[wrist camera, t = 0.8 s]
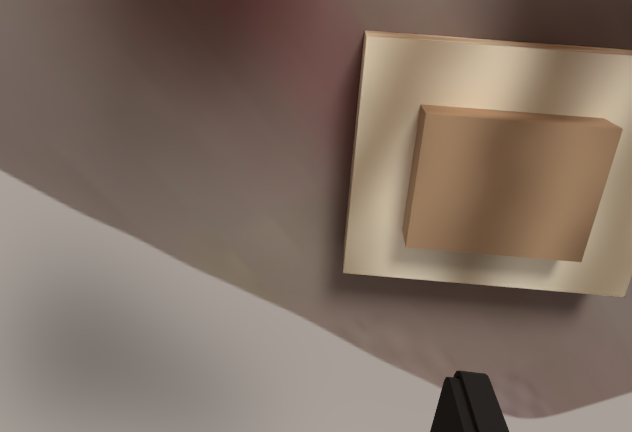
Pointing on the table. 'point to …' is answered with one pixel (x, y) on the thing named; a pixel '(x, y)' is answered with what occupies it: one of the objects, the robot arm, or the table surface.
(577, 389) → the table surface
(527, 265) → the deck
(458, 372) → the robot arm
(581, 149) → the tile
